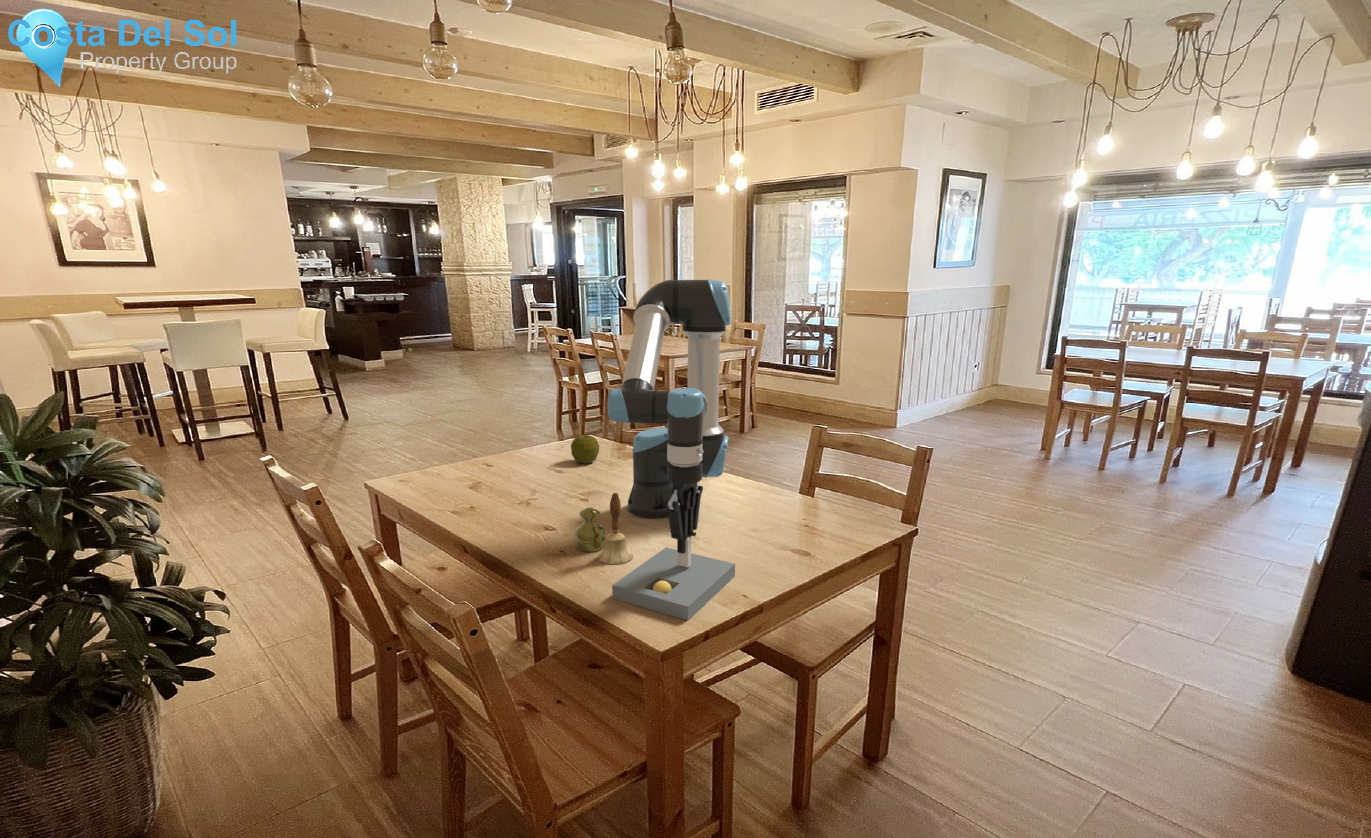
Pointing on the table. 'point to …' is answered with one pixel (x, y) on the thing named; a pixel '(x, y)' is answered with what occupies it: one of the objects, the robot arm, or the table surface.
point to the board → (674, 583)
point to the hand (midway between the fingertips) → (684, 564)
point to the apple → (585, 448)
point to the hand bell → (615, 538)
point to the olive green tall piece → (590, 532)
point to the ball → (662, 587)
